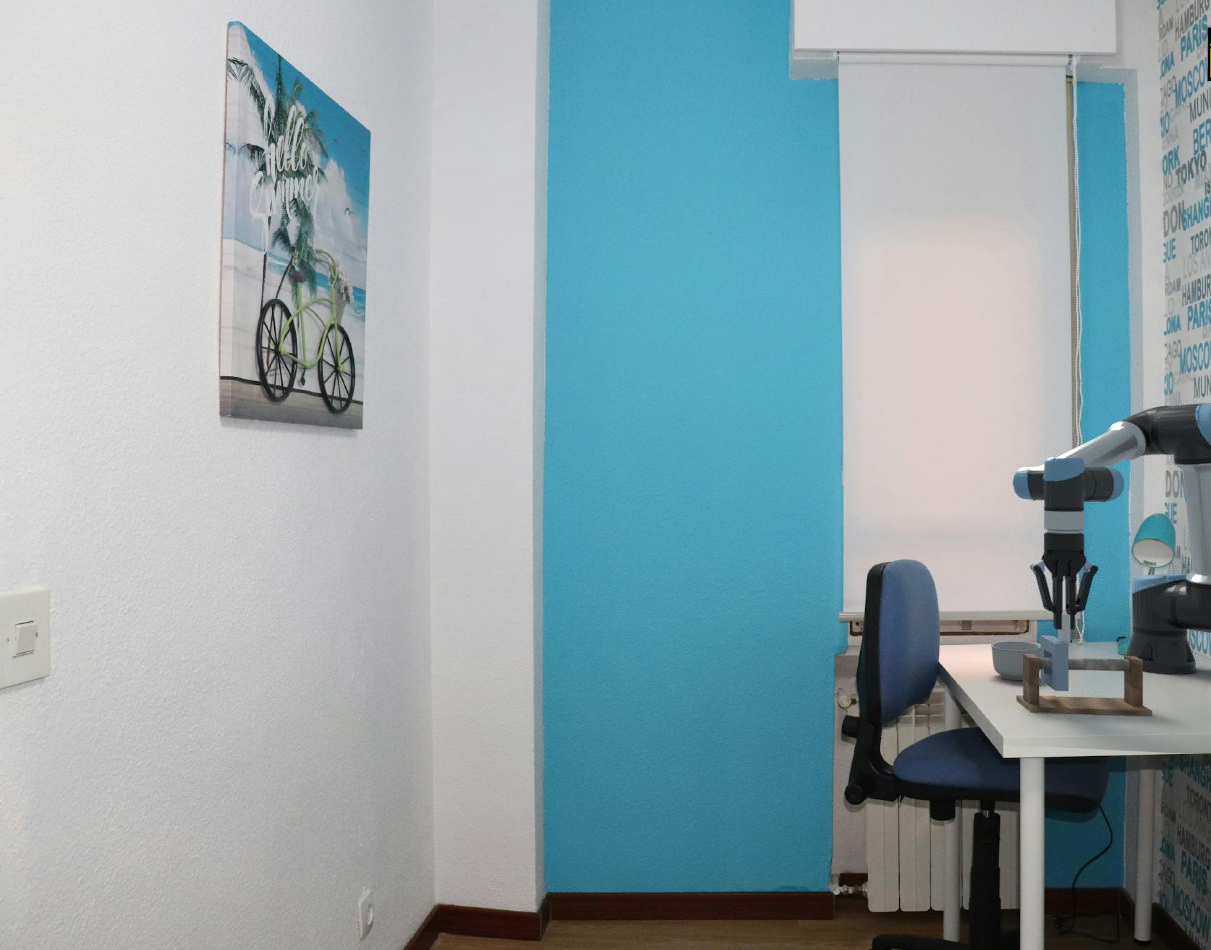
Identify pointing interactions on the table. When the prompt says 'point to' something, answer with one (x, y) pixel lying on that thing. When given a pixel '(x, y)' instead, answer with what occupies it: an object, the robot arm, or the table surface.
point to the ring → (1055, 663)
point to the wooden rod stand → (1085, 705)
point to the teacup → (1012, 657)
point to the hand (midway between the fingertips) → (1064, 645)
